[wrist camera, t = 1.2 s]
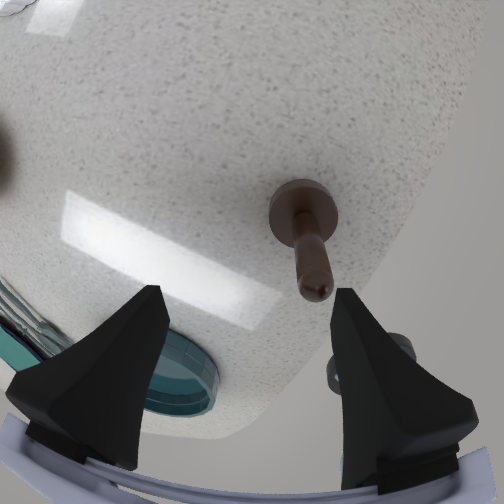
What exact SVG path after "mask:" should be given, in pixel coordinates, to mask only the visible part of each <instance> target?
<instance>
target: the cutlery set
mask: <svg viewBox="0 0 504 504" xmlns="http://www.w3.org/2000/svg"><path fill="white" fill-rule="evenodd" d="M0 291H1V292H2V293H3V294H4V295H5V296H6V297H7V298H9V299H10V300H11V301H12V302H13V303H14V304H16V305H17V306H18V307H19V308H20V309H21V310H22V311H23V312H24V313H25V314H26V315H27V316H28V317H29V318H30V319H31V320H32V321H33V322H34V323H35V324H36V325H37V326H38V328H37V329H39V330H41V331H42V334H41V333H39V332H38V331H37V330H35V329H34V328H33V327H31V326H30V325H29V324H28V323H27V322H26V321H25V320H23V319H22V318H21V317H20V316H19V315H18V314H16V313H15V312H14V310H13V309H12V308H11V307H10V306H9V305H8V304H7V303H6V302H5V301H4V300H3V299H2V298H1V296H0V303H1V304H2V305H3V306H4V307H5V308H6V309H7V310H8V311H9V312H10V313H11V314H12V315H13V316H14V317H15V318H17V319H18V320H19V321H21V322H22V323H23V324H24V325H26V326H27V327H28V328H29V329H31V330H32V331H34V332H35V333H36V336H37V337H38V339H39V340H40V342H41V343H42V344H43V345H44V346H45V347H46V348H47V349H48V350H47V349H46V348H45V347H44V346H43V345H42V344H40V343H39V342H38V341H37V340H36V339H35V338H34V337H32V336H31V335H30V334H29V333H28V332H27V328H26V329H24V328H22V326H21V324H19V323H17V322H15V321H14V320H13V319H12V318H11V317H10V316H9V315H8V314H7V313H6V312H5V311H4V310H3V309H2V308H1V306H0V309H1V310H2V311H3V312H4V313H5V315H6V316H7V317H8V318H9V319H10V320H11V321H12V322H13V323H14V325H15V326H16V328H17V329H18V330H20V331H21V332H22V333H23V335H24V334H26V335H27V336H28V337H29V338H30V339H31V340H32V341H33V342H34V343H35V344H36V345H37V346H38V347H40V348H41V349H42V350H43V351H44V352H45V353H47V354H48V355H49V356H50V357H53V356H55V355H57V354H59V353H61V352H62V351H63V350H62V349H61V348H60V346H59V345H58V344H57V343H59V344H60V345H62V346H63V347H65V348H66V349H67V348H69V347H71V345H70V344H69V343H68V342H66V341H65V340H64V339H63V338H61V337H60V336H59V335H58V334H57V333H56V332H55V331H54V330H53V329H52V328H51V327H50V326H49V325H47V324H46V323H45V322H43V321H42V322H39V321H38V320H37V319H36V318H35V317H34V316H33V315H32V314H31V312H30V311H29V310H28V309H27V308H26V307H25V306H24V305H23V304H22V303H21V302H20V301H19V300H18V299H17V298H16V297H15V296H14V295H13V294H12V293H11V292H10V291H8V290H7V288H6V287H5V286H4V285H3V284H2V283H1V281H0ZM43 334H46V335H47V336H46V335H43ZM48 336H49V337H48ZM55 341H56V342H57V343H56V342H55ZM50 351H51V352H52V353H54V354H55V355H54V354H52V353H51V352H50ZM0 358H1V359H3V360H4V361H5V362H6V363H7V364H8V365H9V366H10V367H12V368H13V369H14V370H15V371H16V372H17V371H21V370H23V369H26V368H29V367H31V366H34V365H36V364H39V363H41V362H43V361H44V360H43V359H42V358H41V357H40V356H39V355H38V354H37V353H36V352H35V351H34V350H33V349H32V348H30V347H29V346H28V345H27V344H26V343H25V342H24V341H23V340H21V339H20V338H19V337H18V336H17V335H15V334H14V333H13V332H11V331H10V330H8V329H7V328H5V327H4V326H3V325H1V324H0Z"/></svg>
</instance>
